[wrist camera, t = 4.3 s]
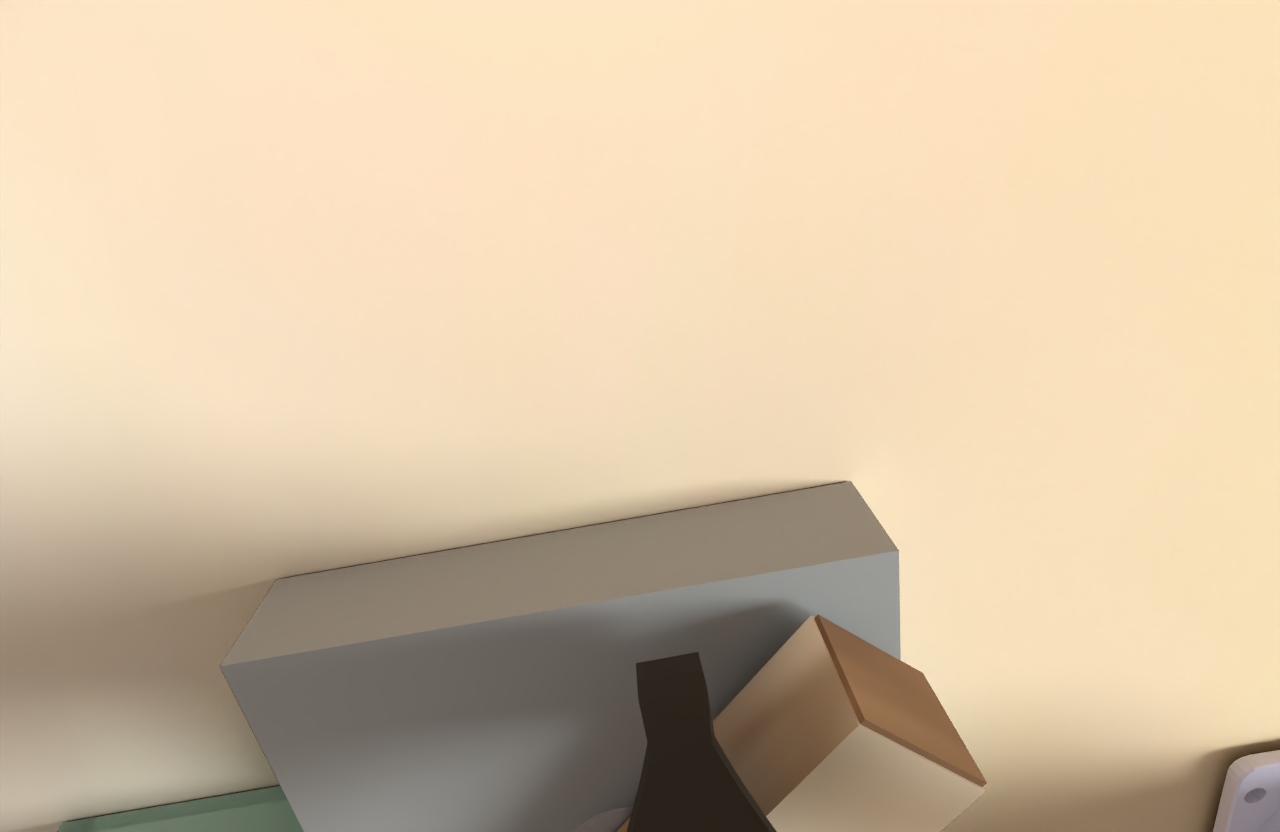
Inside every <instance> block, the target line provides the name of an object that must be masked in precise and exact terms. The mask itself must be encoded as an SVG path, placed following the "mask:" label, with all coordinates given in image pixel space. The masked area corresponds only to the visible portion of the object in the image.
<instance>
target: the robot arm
mask: <svg viewBox="0 0 1280 832" xmlns="http://www.w3.org/2000/svg"><path fill="white" fill-rule="evenodd" d="M636 674H637V689H638V701H639V705H640V710H641V715H642V719H643V724H644V729H645V733H646V738H647V747H646V752H645V757H644V763H643V768H642V773H641V777H640V782H639V786H638V790H637V794H636V798H635V801H634V805H633V809H632V813H631V816H630V820H629V824H628V828H627V832H777V831H776V830H775V828H774V827H773V826H772V824H771V823H770V822H769V820H768V819H767V817H766V816H765V815H764V813H763V812H762V810H761V809H760V807H759V806H758V804H757V803H756V801H755V800H754V798H753V797H752V796H751V794H750V793H749V791H748V790H747V788H746V787H745V785H744V784H743V782H742V780H741V779H740V777H739V776H738V774H737V773H736V771H735V769H734V768H733V766H732V764H731V763H730V761H729V759H728V758H727V756H726V754H725V753H724V751H723V749H722V748H721V746H720V744H719V743H718V741H717V739H716V738H715V734H714V728H713V721H712V715H711V709H710V703H709V696H708V690H707V685H706V681H705V677H704V673H703V669H702V665H701V661H700V657H699V653H698V652H694V653H689V654H683V655H678V656H672V657H667V658H662V659H656V660H651V661H645V662H640V663H636ZM1213 832H1280V750H1275V751H1269V752H1263V753H1257V754H1252V755H1247V756H1244V757H1241V758H1239V759H1237V760H1236V761H1234V762H1233V763H1232V764H1231V765H1230V767H1229V769H1228V771H1227V775H1226V779H1225V783H1224V787H1223V791H1222V796H1221V800H1220V804H1219V808H1218V812H1217V816H1216V820H1215V824H1214V829H1213Z"/></svg>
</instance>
